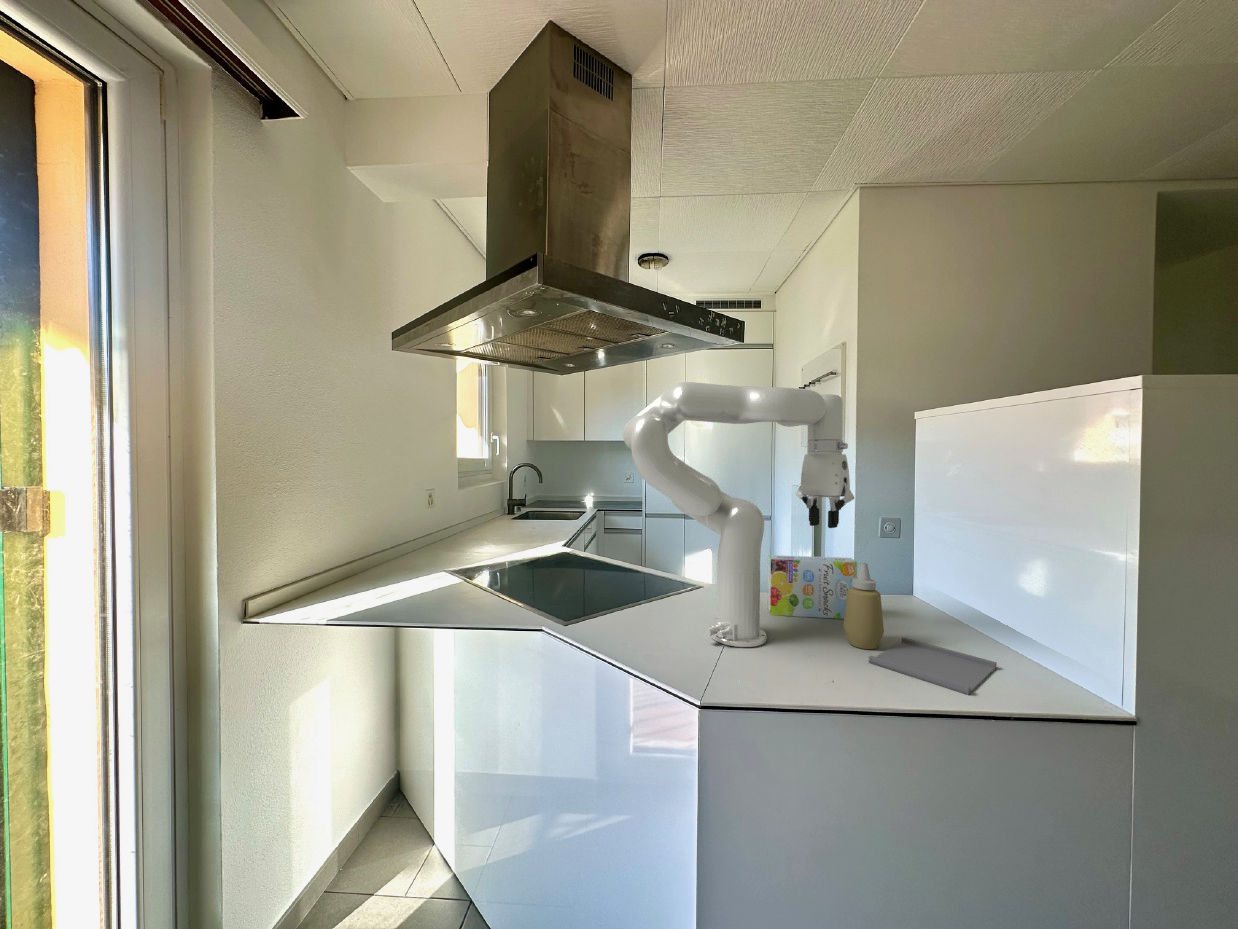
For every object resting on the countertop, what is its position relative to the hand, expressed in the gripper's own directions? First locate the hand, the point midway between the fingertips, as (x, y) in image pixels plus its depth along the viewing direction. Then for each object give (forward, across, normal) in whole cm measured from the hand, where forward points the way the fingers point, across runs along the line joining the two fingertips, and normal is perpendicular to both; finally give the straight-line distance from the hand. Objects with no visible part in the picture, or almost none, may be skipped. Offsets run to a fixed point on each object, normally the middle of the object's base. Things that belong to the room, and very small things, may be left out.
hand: (823, 525), depth 115 cm
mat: (+25, -23, 0) cm, 34 cm away
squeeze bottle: (+25, -10, 0) cm, 27 cm away
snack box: (+26, +8, -10) cm, 29 cm away
